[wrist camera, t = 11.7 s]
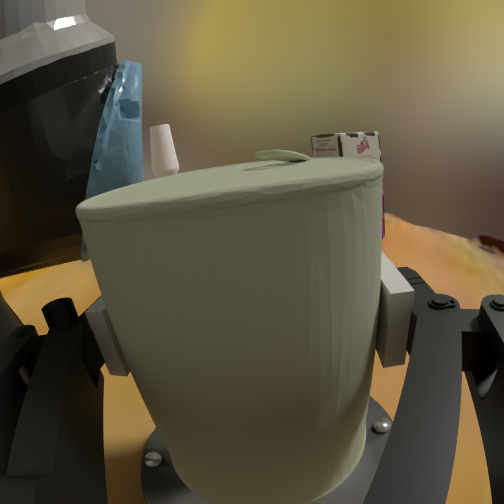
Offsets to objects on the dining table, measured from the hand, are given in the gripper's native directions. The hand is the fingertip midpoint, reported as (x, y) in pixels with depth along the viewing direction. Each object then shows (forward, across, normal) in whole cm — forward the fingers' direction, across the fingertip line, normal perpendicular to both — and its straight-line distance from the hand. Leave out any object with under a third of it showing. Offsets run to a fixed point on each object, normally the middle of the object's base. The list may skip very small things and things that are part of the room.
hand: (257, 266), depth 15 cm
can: (-5, 0, -7) cm, 8 cm away
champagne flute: (+60, -27, -10) cm, 66 cm away
